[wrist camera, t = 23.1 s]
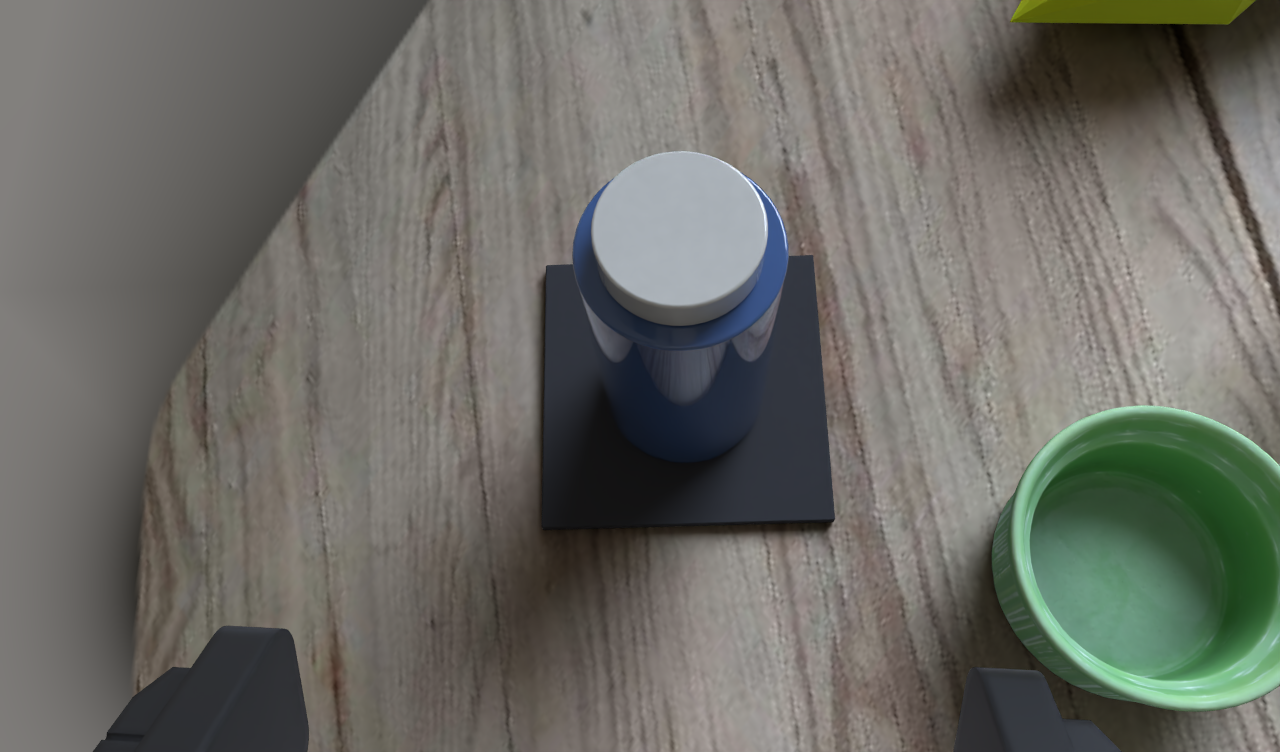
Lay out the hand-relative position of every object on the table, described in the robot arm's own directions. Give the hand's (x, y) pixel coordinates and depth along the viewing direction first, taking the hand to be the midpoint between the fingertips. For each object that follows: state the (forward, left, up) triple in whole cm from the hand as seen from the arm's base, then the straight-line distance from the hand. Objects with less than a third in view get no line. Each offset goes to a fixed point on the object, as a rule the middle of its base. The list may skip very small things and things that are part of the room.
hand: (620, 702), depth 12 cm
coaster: (+1, +12, -22) cm, 25 cm away
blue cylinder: (+1, +12, -22) cm, 25 cm away
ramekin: (+15, +5, -22) cm, 27 cm away
